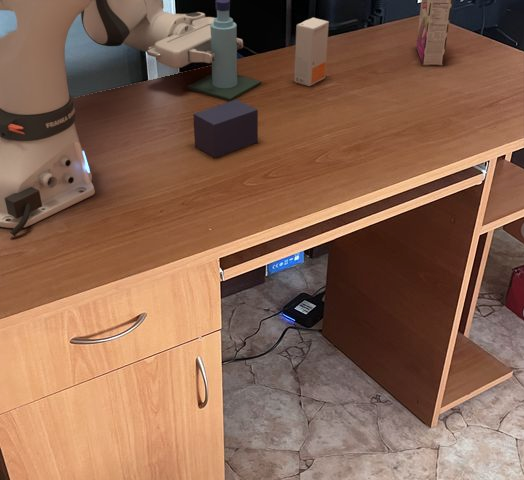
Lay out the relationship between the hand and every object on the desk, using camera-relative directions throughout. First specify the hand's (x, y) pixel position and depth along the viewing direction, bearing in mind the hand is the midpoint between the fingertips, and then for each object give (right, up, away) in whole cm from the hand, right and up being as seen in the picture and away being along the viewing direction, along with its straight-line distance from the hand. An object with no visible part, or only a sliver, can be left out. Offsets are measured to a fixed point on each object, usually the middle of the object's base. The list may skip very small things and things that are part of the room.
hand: (227, 51), depth 160 cm
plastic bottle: (+4, -5, +1) cm, 6 cm away
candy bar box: (+45, +6, +19) cm, 49 cm away
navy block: (+1, -23, -15) cm, 28 cm away
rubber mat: (-1, -5, +5) cm, 8 cm away
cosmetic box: (+17, -3, +8) cm, 19 cm away
